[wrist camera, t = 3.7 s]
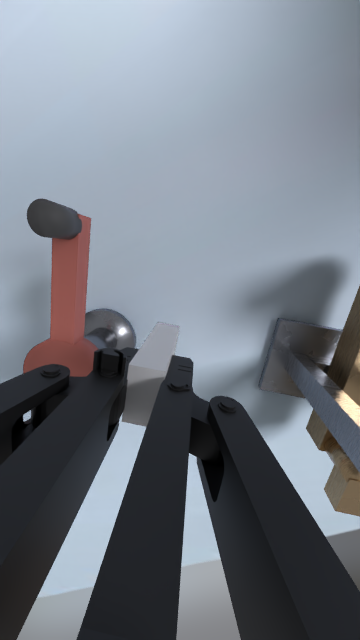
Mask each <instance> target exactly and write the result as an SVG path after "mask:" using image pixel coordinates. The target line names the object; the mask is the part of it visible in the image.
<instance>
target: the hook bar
mask: <svg viewBox="0 0 360 640" xmlns="http://www.w3.org/2000/svg"><path fill="white" fill-rule="evenodd" d="M326 375H327V376H328V377H329V378H330V379H331V380H332V381H333V382H334V383H335V384H336V385H337V386H338V387H340V388H341V389H342V390H343V391H344V392H345V393H346V394H347V395H348V396H349V397H350V398H351V399H352V400H353V401H354V402H355V403H356V404H357V405H358V406H359V407H360V286H359V289H358V291H357V294H356V297H355V299H354V302H353V305H352V307H351V310H350V313H349V315H348V318H347V321H346V323H345V326H344V329H343V331H342V334H341V337H340V339H339V342H338V345H337V347H336V350H335V353H334V355H333V358H332V361H331V363H330V366H329V368H328V371H327V374H326ZM306 429H307V431H308V433H309V434H310V436H311V438H312V439H313V441H314V443H315V444H316V446H317V448H318V449H319V450H321V451H326V452H327V454H328V455H329V457H330V459H331V460H332V462H333V463H334V467H333V469H332V472H331V474H330V476H329V479H328V481H327V483H326V485H325V488H324V490H325V492H326V494H327V496H328V498H329V500H330V502H331V504H332V506H333V508H334V510H335V511H338V512H342V513H347V514H351V515H356V516H360V472H359V471H358V470H357V468H356V467H355V465H354V464H353V463H352V461H351V460H350V459H349V457H348V456H347V454H346V453H345V452H344V450H343V449H342V447H341V446H340V445H339V443H338V442H337V441H336V439H335V438H334V436H333V435H332V434H331V432H330V431H329V429H328V428H327V427H326V425H325V424H324V423H323V421H322V420H321V418H320V417H319V416H318V414H317V413H316V411H315V410H314V409H313V411H312V414H311V416H310V419H309V422H308V424H307V427H306Z"/></svg>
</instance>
